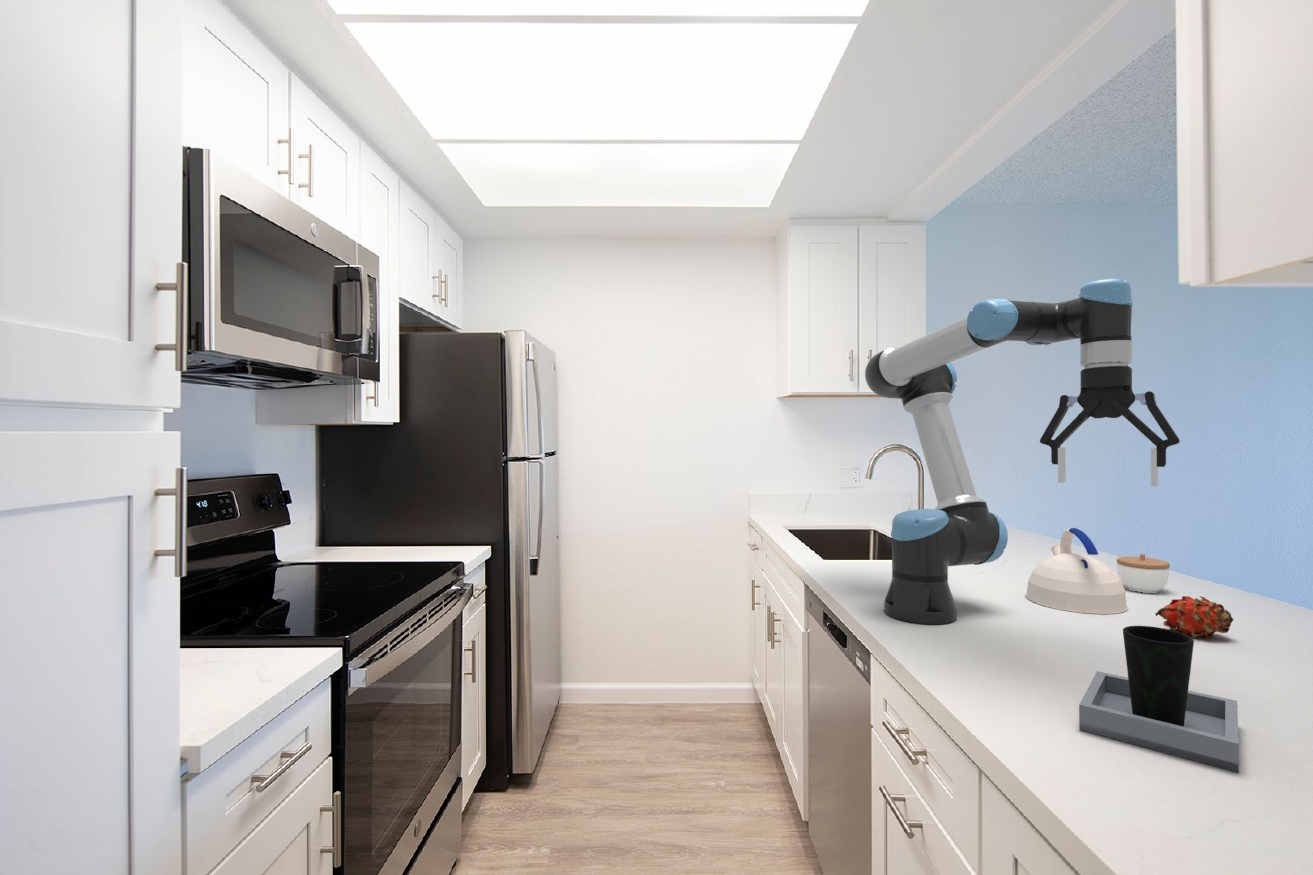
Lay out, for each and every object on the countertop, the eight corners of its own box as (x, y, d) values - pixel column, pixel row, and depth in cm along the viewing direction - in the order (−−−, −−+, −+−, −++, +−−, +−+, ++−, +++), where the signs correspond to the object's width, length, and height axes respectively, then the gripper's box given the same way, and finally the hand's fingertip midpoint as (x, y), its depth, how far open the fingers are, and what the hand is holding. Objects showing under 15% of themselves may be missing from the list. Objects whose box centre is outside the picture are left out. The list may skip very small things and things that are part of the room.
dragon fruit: (1240, 650, 119) (1161, 647, 125) (1228, 615, 125) (1154, 614, 131) (1239, 621, 115) (1157, 620, 122) (1226, 587, 121) (1150, 587, 128)
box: (1079, 729, 85) (1079, 704, 85) (1097, 693, 96) (1097, 671, 96) (1238, 772, 74) (1238, 743, 74) (1237, 725, 85) (1237, 700, 85)
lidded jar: (1132, 595, 153) (1131, 558, 153) (1108, 584, 164) (1107, 549, 164) (1180, 596, 151) (1180, 559, 151) (1152, 586, 162) (1152, 550, 162)
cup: (1208, 735, 81) (1208, 645, 81) (1142, 730, 82) (1142, 641, 82) (1171, 709, 88) (1171, 627, 88) (1112, 705, 90) (1111, 624, 90)
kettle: (1101, 593, 155) (1101, 522, 155) (1146, 617, 135) (1146, 536, 135) (1013, 589, 160) (1013, 520, 160) (1044, 612, 140) (1044, 533, 140)
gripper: (1198, 362, 105) (1198, 486, 105) (1031, 373, 122) (1031, 479, 122) (1196, 358, 99) (1197, 489, 99) (1022, 370, 116) (1022, 482, 116)
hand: (1106, 484), depth 111 cm, fingers open, 13 cm apart
